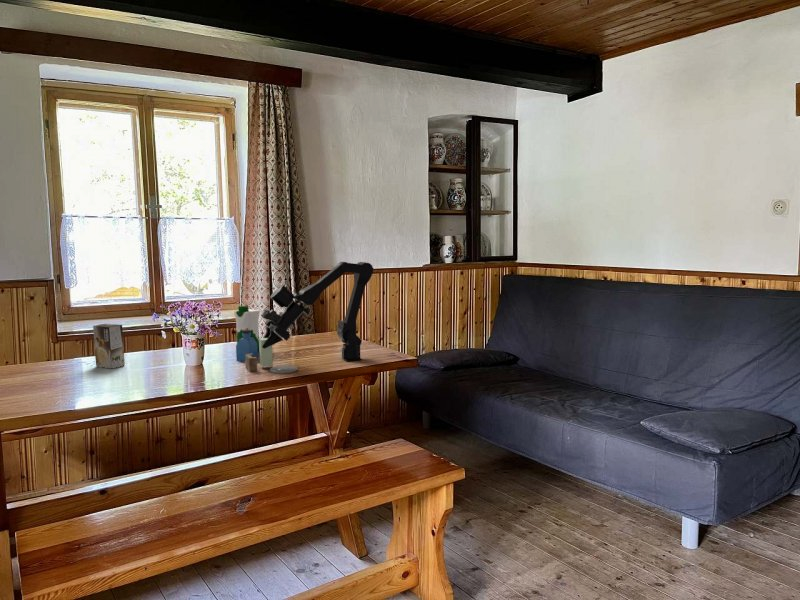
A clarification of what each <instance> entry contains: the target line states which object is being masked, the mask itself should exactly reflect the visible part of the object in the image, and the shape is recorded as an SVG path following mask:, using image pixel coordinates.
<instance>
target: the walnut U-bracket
mask: <svg viewBox="0 0 800 600" xmlns="http://www.w3.org/2000/svg"><path fill="white" fill-rule="evenodd" d="M257 359H258V358H256V357H253V354H245V361H244V362H245V364H244V365H245V368H246V369H247V371H248V372H249V373H254V372H258V360H257Z"/></svg>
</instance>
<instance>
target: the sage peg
mask: <svg viewBox="0 0 800 600" xmlns="http://www.w3.org/2000/svg"><path fill="white" fill-rule="evenodd" d="M266 340H267V338H264V337H262V338H260V337H259V352H258V353H259V365H260V366H261V367H262V368H263V367H271V366H273V365H274V364H273V363H274V361H273V345H271V346H269V347H267V348H265V349H264V348H263V347H262V346H263V344H264V343H265V341H266ZM273 367H274V366H273Z"/></svg>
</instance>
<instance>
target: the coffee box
mask: <svg viewBox="0 0 800 600" xmlns="http://www.w3.org/2000/svg"><path fill="white" fill-rule="evenodd" d="M92 328H93V329H92V330H93V342H94V343H93V345H94V357H95V358H94V359H95V367H96V366H97V367H96V368H102V367H105V368H104V369H111V368H113V369H116V367H117V368H121V367H124V366H123V365H125V366H126V362H125V346H124V331H123V324H116V323H103V324H95V325H92ZM120 366H121V367H120Z"/></svg>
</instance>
